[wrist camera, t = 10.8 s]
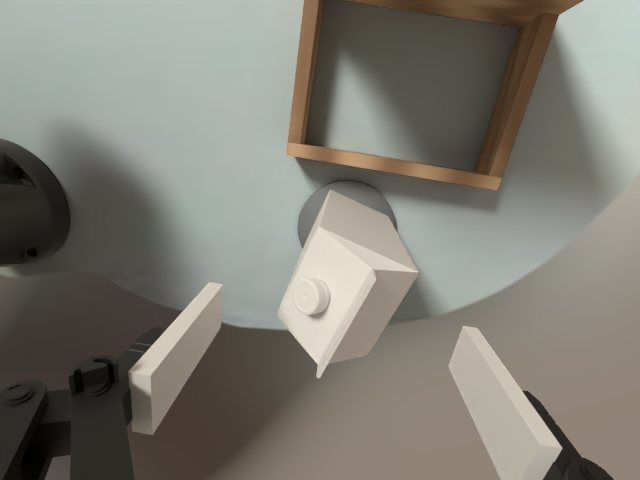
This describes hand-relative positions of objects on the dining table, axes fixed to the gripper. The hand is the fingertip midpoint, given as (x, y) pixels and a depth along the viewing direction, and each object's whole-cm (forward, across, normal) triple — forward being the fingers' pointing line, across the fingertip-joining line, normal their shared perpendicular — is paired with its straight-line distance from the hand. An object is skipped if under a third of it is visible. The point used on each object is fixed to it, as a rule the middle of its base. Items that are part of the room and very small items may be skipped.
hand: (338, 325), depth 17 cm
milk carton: (+19, +1, 0) cm, 19 cm away
